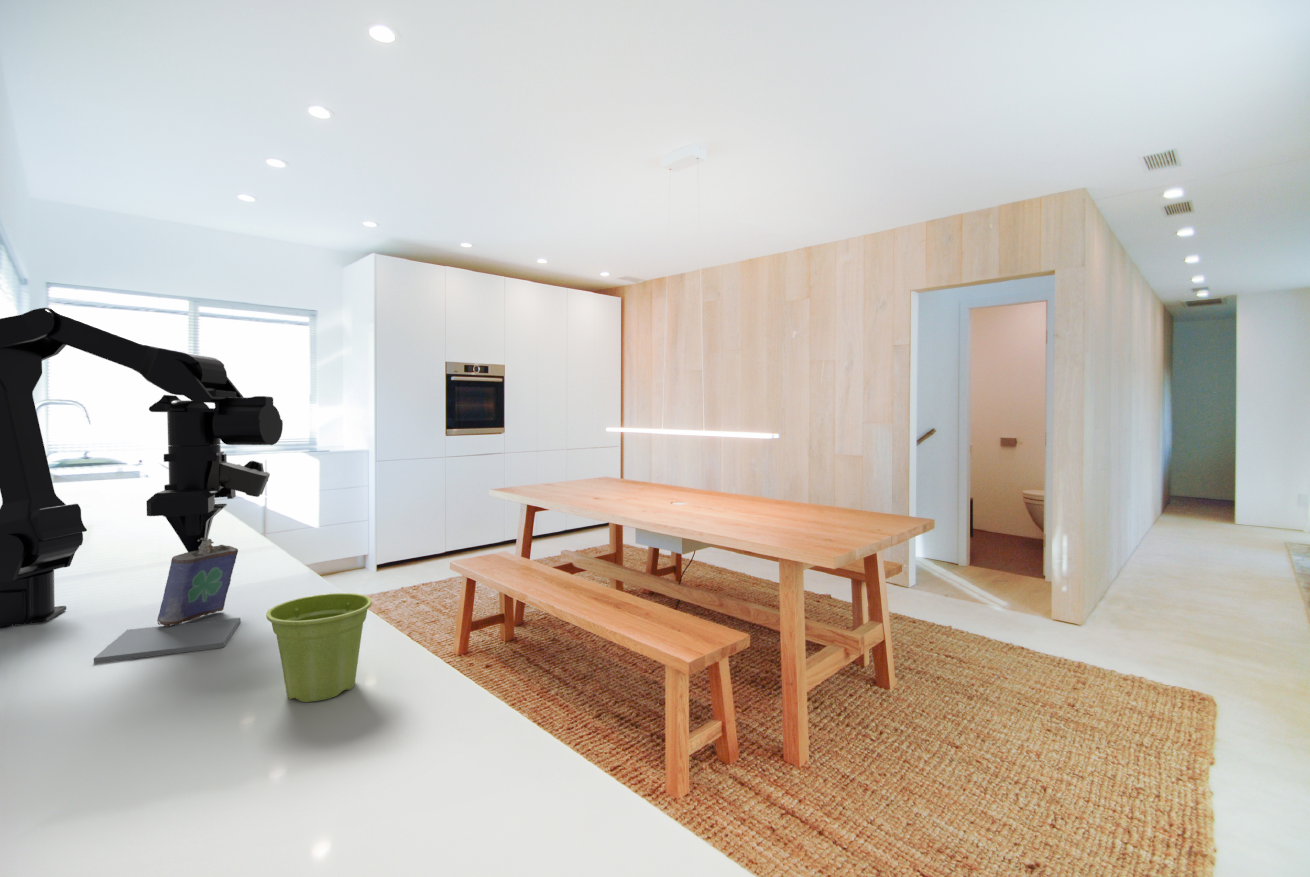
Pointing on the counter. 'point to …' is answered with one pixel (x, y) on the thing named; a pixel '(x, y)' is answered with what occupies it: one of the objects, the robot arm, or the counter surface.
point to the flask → (197, 583)
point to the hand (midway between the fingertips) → (197, 558)
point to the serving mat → (169, 640)
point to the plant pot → (319, 643)
